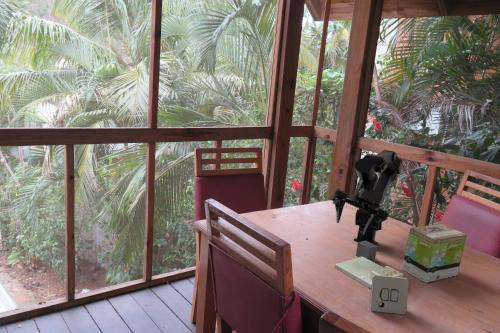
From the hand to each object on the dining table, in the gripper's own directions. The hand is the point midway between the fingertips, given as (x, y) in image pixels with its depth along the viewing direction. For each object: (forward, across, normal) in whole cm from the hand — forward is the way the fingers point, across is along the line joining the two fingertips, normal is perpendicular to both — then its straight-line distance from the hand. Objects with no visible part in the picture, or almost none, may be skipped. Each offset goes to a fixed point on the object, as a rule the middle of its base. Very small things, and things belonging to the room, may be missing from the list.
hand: (350, 228), depth 130 cm
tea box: (+2, +29, +2) cm, 29 cm away
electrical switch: (+22, +12, -16) cm, 29 cm away
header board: (+12, +10, -1) cm, 15 cm away
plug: (+4, +10, +9) cm, 14 cm away
